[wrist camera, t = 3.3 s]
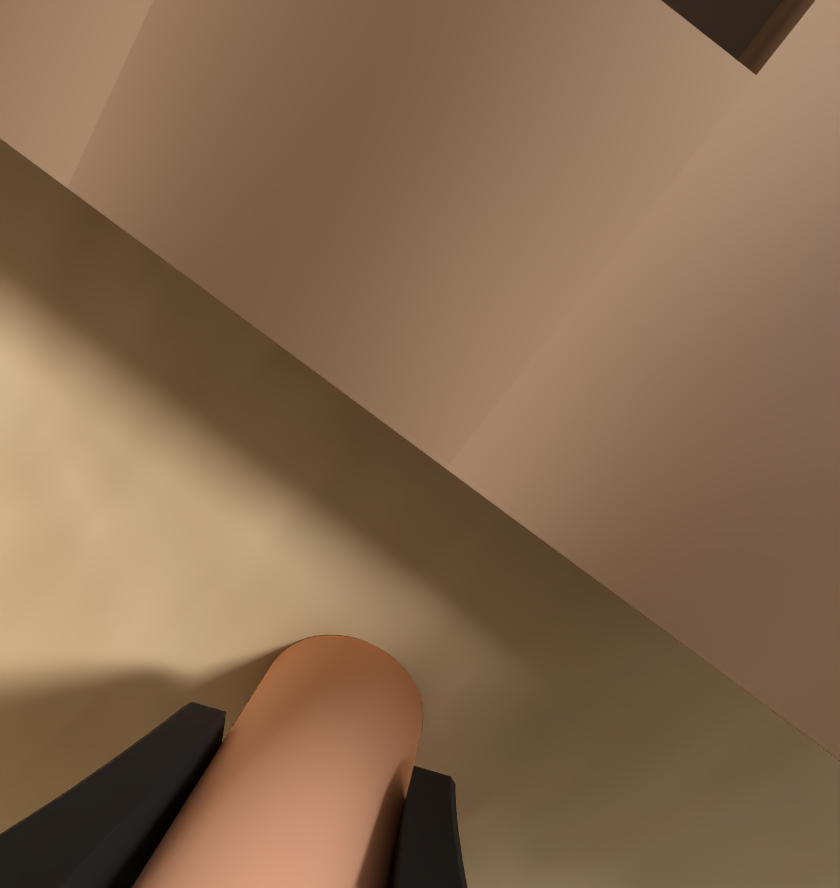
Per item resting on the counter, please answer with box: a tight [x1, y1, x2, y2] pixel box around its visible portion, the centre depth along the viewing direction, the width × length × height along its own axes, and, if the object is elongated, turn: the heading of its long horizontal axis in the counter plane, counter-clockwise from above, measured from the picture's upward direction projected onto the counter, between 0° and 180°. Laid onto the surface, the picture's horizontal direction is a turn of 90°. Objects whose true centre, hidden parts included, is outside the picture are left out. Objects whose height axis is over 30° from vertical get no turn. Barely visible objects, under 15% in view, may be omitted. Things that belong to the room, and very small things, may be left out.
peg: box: [132, 635, 423, 888], centre depth 9 cm, size 3×3×7 cm
